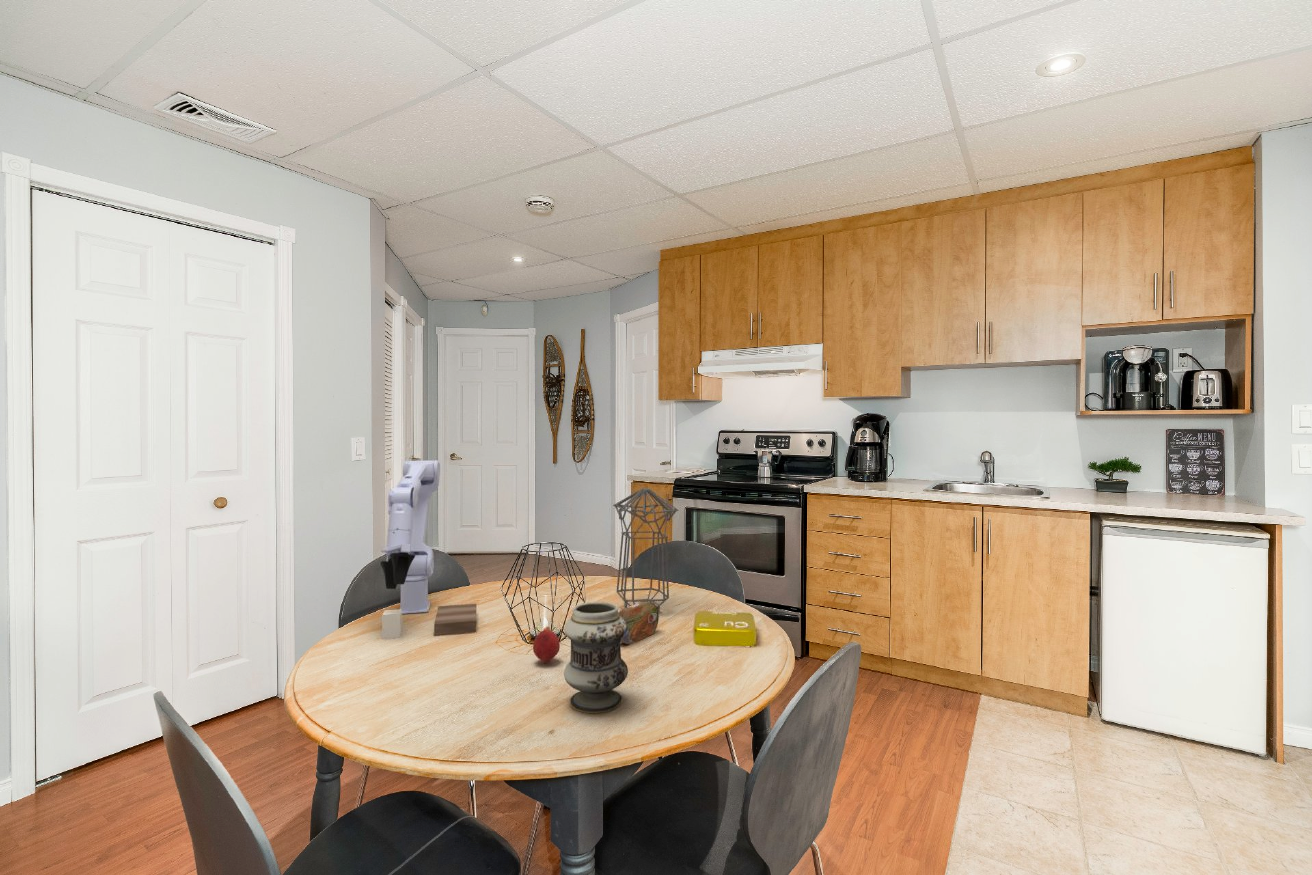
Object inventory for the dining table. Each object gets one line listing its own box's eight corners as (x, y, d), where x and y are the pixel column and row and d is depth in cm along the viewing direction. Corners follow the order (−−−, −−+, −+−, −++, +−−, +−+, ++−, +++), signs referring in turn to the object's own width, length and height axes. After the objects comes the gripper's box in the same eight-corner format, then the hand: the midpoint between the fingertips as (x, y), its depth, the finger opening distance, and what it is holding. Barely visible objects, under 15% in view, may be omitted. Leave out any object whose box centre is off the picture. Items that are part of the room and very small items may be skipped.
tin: (621, 648, 144) (621, 613, 144) (611, 645, 146) (611, 610, 146) (659, 632, 156) (660, 599, 156) (650, 629, 158) (650, 597, 158)
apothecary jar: (596, 683, 124) (596, 594, 124) (640, 699, 117) (641, 605, 116) (550, 703, 115) (550, 607, 115) (595, 723, 107) (596, 620, 107)
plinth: (438, 616, 168) (438, 606, 168) (476, 614, 170) (476, 603, 170) (434, 635, 152) (434, 623, 152) (476, 632, 155) (476, 620, 155)
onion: (553, 668, 132) (554, 631, 132) (528, 666, 133) (528, 629, 133) (563, 658, 137) (563, 623, 137) (539, 656, 139) (539, 621, 138)
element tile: (752, 628, 160) (753, 610, 160) (756, 649, 145) (756, 629, 145) (695, 626, 162) (695, 608, 162) (693, 646, 147) (693, 626, 147)
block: (384, 633, 154) (384, 610, 154) (401, 632, 155) (401, 608, 155) (382, 639, 150) (382, 614, 150) (400, 637, 151) (399, 613, 151)
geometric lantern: (609, 606, 179) (612, 486, 179) (660, 603, 184) (663, 486, 184) (622, 621, 164) (625, 490, 164) (678, 617, 169) (680, 490, 169)
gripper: (376, 537, 160) (370, 590, 155) (391, 524, 149) (385, 581, 144) (404, 539, 164) (399, 590, 159) (420, 527, 153) (416, 582, 148)
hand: (395, 586), depth 152 cm, fingers open, 7 cm apart
